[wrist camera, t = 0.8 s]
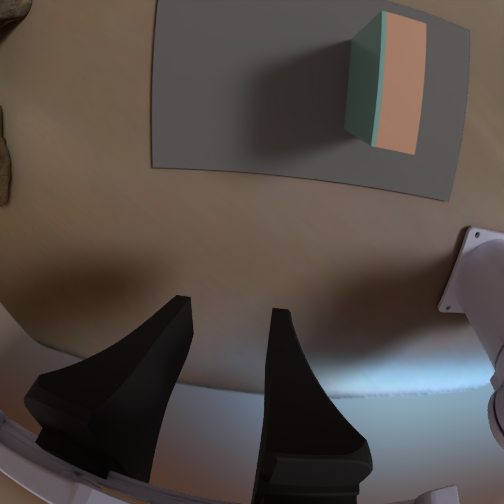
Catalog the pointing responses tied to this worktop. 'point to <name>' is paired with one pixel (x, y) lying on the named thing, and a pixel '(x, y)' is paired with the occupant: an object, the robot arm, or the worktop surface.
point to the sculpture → (3, 11)
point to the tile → (387, 82)
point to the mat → (295, 93)
